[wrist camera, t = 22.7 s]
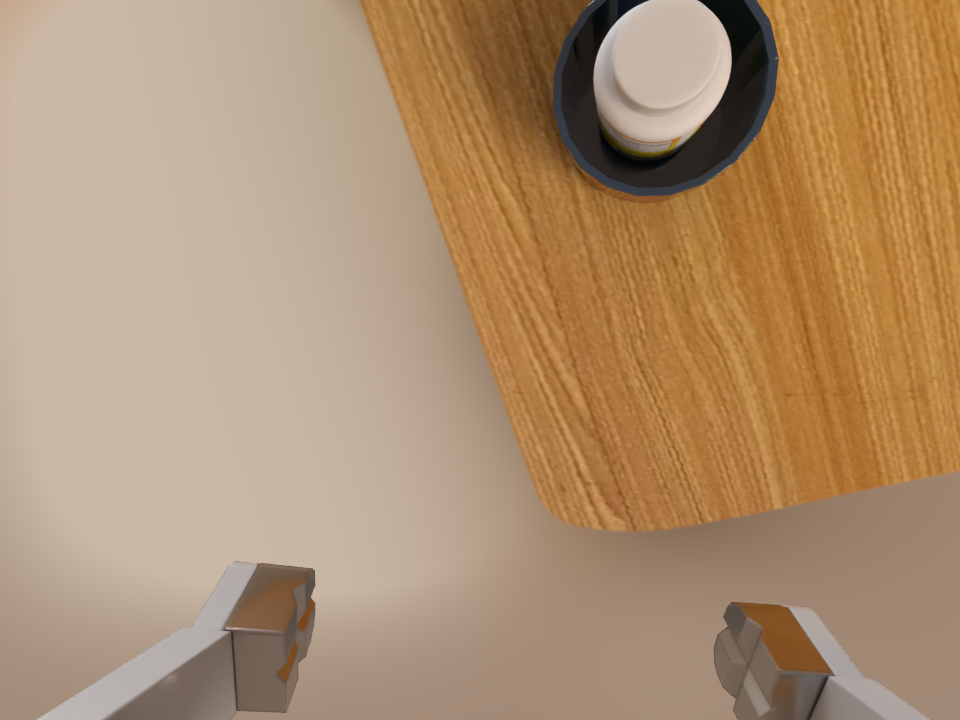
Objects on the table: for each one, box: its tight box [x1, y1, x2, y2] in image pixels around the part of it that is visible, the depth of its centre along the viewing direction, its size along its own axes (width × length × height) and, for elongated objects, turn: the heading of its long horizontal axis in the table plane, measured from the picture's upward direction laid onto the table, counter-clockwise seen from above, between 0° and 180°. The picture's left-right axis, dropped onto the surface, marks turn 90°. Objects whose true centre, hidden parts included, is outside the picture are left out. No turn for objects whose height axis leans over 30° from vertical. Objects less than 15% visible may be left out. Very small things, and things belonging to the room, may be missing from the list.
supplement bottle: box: [594, 0, 732, 162], centre depth 26 cm, size 6×6×10 cm
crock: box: [553, 0, 779, 203], centre depth 28 cm, size 10×10×6 cm
